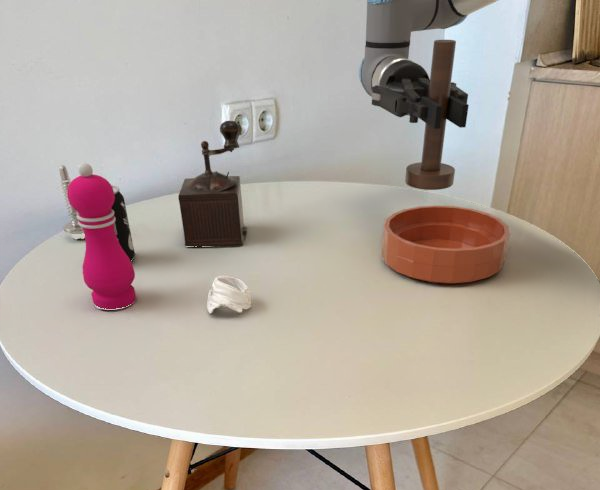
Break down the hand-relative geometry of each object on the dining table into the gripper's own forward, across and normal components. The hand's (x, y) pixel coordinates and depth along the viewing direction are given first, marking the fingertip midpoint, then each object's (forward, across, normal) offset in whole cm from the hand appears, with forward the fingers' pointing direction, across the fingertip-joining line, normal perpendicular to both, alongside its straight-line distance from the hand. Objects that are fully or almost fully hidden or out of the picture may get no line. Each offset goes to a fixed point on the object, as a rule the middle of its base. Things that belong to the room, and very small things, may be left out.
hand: (451, 116), depth 77 cm
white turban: (+1, +31, -24) cm, 39 cm away
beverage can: (-18, +49, -24) cm, 58 cm away
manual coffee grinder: (-29, +32, -24) cm, 49 cm away
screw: (-31, +57, -24) cm, 69 cm away
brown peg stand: (-5, 0, -10) cm, 11 cm away
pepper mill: (-3, +48, -24) cm, 54 cm away
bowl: (-8, -5, -24) cm, 26 cm away
